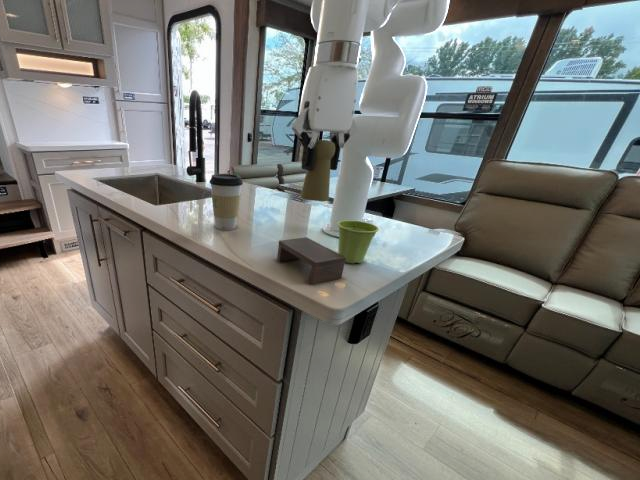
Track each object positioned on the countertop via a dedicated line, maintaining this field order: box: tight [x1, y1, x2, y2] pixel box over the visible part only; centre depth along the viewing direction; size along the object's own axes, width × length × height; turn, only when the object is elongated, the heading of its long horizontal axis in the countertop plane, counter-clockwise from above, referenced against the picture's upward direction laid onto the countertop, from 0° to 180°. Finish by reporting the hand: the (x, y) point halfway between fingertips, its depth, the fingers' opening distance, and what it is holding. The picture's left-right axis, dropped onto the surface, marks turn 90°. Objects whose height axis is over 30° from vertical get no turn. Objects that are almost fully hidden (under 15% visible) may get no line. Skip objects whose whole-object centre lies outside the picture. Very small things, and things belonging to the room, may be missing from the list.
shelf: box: [276, 236, 346, 285], centre depth 72 cm, size 8×14×5 cm, turn 26°
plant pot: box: [337, 220, 380, 264], centre depth 77 cm, size 9×9×9 cm
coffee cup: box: [209, 173, 244, 231], centre depth 95 cm, size 10×10×15 cm
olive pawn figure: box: [299, 139, 335, 202], centre depth 65 cm, size 6×6×11 cm
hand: (319, 168), depth 64 cm, fingers closed on olive pawn figure, 5 cm apart
